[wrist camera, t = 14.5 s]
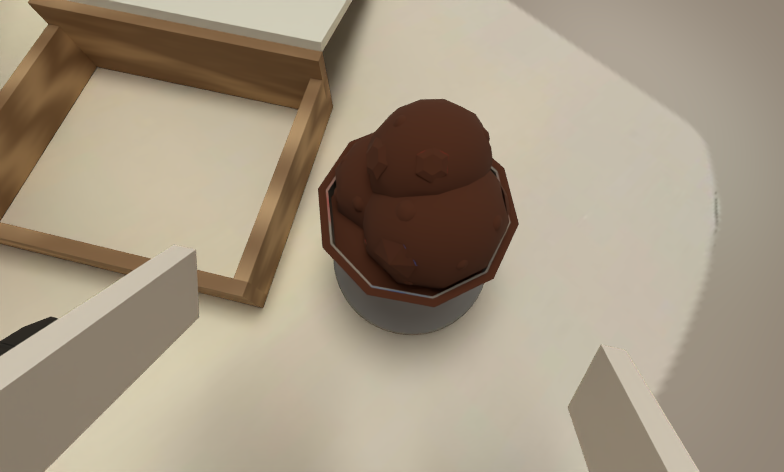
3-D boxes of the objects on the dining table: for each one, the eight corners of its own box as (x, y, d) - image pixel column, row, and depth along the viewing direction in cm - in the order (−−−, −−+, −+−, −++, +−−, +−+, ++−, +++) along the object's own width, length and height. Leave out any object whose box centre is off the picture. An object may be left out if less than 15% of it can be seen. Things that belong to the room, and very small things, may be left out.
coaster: (325, 202, 32) (324, 198, 31) (464, 180, 33) (465, 175, 32) (346, 348, 28) (345, 348, 28) (503, 318, 29) (506, 317, 28)
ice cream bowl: (315, 226, 31) (256, 101, 16) (438, 174, 32) (480, 20, 18) (370, 351, 27) (356, 329, 13) (503, 285, 29) (615, 205, 15)
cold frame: (92, 56, 37) (34, -7, 31) (333, 106, 35) (322, 51, 29) (-24, 237, 31) (-126, 203, 25) (262, 307, 29) (230, 290, 23)
